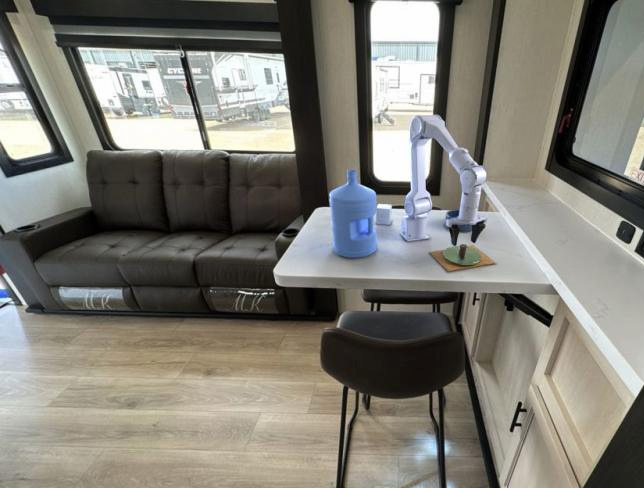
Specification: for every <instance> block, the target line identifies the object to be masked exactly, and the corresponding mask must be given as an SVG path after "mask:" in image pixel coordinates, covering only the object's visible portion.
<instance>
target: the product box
mask: <svg viewBox="0 0 644 488" xmlns="http://www.w3.org/2000/svg"><path fill="white" fill-rule="evenodd" d="M392 208H393V205H392V204H389V203H388V204H387V203H385V204H384V203H378V204H377V205H376V214H375V216H376V217H375V218H376V220H375V221H376V222H375V223H376V225H384V226H390V225H391V223H392V215H393V213H392V210H393V209H392Z"/></svg>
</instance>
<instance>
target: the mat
mask: <svg viewBox="0 0 644 488" xmlns="http://www.w3.org/2000/svg"><path fill="white" fill-rule="evenodd" d="M467 247H468V248H472V249H474V250H476V251H478V252H479V253H480V254H481V256H482V258H481V261H480V262H479V263H477V264H473V265H459V264H455V263H452V262H450V261H448V260H446V259H445V258H444V256H443V251H444V250H445V249H442V250H435V251H430V252H429V254H431V256H432V257H433V258H434V259H435V260H436V261H437V262H438V263H439V264H440V265H441V266H442V267H443V268H444V269H445V271H447V272H448V273H450V272H451V273H452V272H455V271H456V272H457V271H462V270H467V269H473V268H479V267H484V266H489V265H494V264H495V262H494V261H493V260H492V259H491V258H489V257H488V256H487V255H486V254H484V253H483V252H482V251H480V250H479V249H478V248H477V247H475V246H474V245H467Z"/></svg>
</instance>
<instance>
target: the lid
mask: <svg viewBox="0 0 644 488" xmlns="http://www.w3.org/2000/svg"><path fill="white" fill-rule="evenodd" d="M467 246H468V245H467V244H465V243H461V244H459V245H456V246H453V245H452V246H450V247H449V246H448V247H446V248H445V249H443V250H444V251H443V256H444V258H445V259H446V260H448V261H450V262H452V263H455V264H459V265H473V264H477V263H479V262H480V261H481V258H482V256H481V254H480V253H479V252H478V251H476V250H474V249H472V248H468V247H467Z"/></svg>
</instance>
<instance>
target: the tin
mask: <svg viewBox="0 0 644 488" xmlns="http://www.w3.org/2000/svg"><path fill="white" fill-rule="evenodd" d="M459 212H460V209H451V210H448V211H446V212H445V220H444V227H445V228H446V229H447V230H449V229H448V227H447V225H446V220H447V219H452V218H455V217H458V216H459ZM458 228H459V229H460V230H461V231H460V233H469V232H472V225H470V224H463V225H458Z"/></svg>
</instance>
